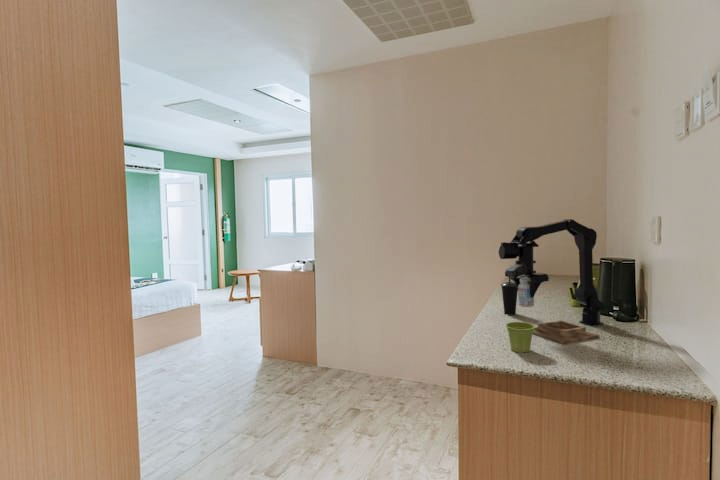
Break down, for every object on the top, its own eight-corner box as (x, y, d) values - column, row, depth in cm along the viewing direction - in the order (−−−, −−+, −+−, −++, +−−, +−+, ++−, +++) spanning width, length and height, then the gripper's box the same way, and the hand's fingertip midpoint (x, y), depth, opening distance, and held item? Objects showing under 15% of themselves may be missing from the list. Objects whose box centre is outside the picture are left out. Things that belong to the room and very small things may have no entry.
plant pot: (532, 356, 137) (532, 330, 136) (503, 352, 142) (502, 327, 141) (537, 348, 145) (537, 323, 144) (509, 344, 150) (509, 320, 149)
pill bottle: (533, 304, 172) (532, 277, 171) (535, 307, 166) (534, 279, 165) (517, 303, 174) (517, 277, 173) (518, 307, 168) (518, 279, 167)
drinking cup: (500, 315, 190) (500, 271, 189) (501, 311, 197) (501, 269, 196) (518, 316, 187) (518, 272, 186) (518, 312, 194) (518, 270, 193)
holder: (560, 325, 171) (560, 317, 170) (599, 337, 154) (599, 328, 154) (525, 331, 164) (525, 322, 164) (562, 344, 147) (562, 335, 147)
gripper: (494, 257, 174) (494, 294, 176) (527, 261, 157) (527, 302, 158) (515, 255, 178) (515, 291, 179) (549, 259, 161) (549, 299, 162)
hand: (526, 296), depth 170 cm, fingers closed on pill bottle, 6 cm apart
